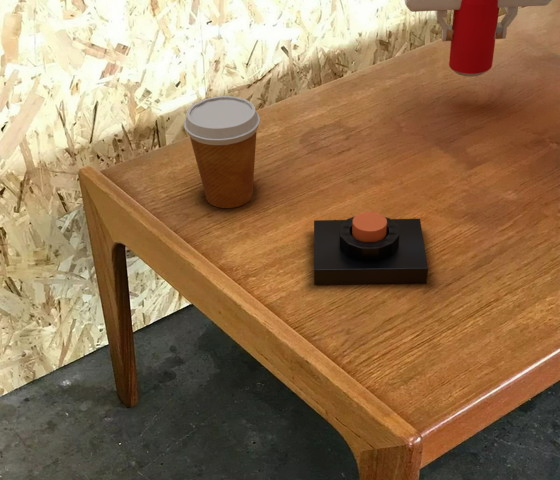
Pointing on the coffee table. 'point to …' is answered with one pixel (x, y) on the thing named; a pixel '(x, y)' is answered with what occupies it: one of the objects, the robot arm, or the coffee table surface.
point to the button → (369, 227)
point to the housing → (369, 254)
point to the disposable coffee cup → (224, 147)
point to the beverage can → (474, 37)
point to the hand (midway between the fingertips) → (473, 38)
